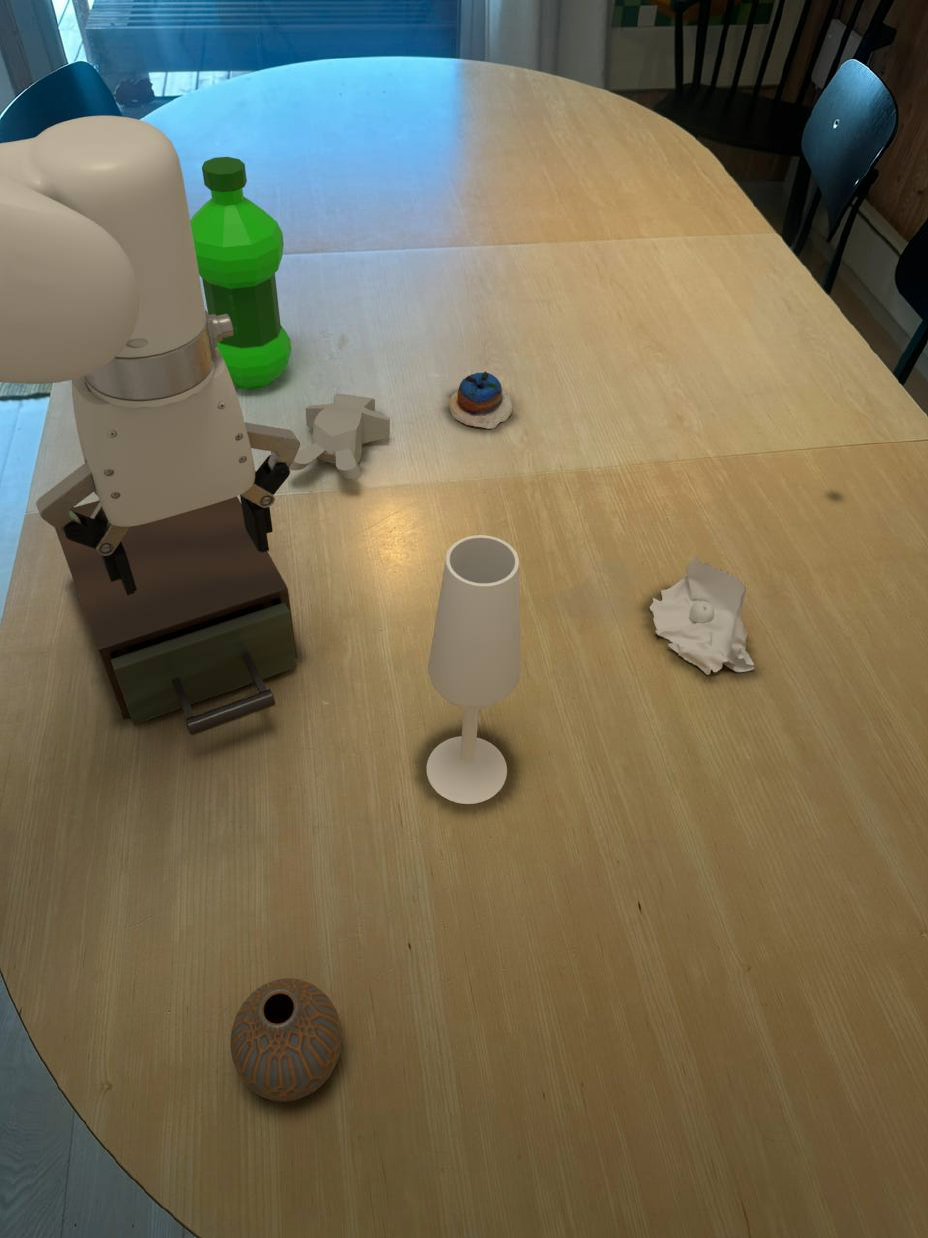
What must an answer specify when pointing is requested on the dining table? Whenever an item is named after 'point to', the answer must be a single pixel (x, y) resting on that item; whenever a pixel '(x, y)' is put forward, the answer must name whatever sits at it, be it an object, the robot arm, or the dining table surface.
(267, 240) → the plastic bottle
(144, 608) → the cabinet
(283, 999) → the vase
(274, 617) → the drawer
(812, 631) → the dining table surface
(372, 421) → the bunny figurine
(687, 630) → the fabric
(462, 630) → the champagne flute
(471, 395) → the dessert
